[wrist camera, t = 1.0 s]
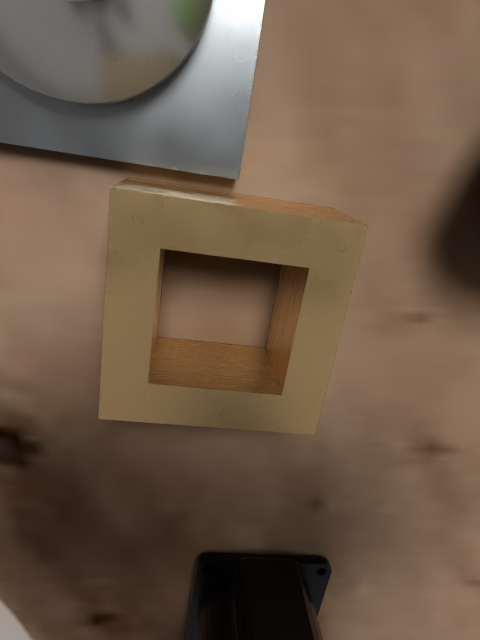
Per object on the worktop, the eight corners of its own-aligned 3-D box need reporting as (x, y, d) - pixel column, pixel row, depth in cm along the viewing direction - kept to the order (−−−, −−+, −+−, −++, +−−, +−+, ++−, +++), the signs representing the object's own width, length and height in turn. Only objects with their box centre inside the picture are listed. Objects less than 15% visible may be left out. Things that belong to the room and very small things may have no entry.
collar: (293, 382, 18) (314, 435, 15) (116, 366, 17) (98, 418, 14) (332, 208, 16) (368, 225, 12) (128, 177, 15) (110, 187, 11)
